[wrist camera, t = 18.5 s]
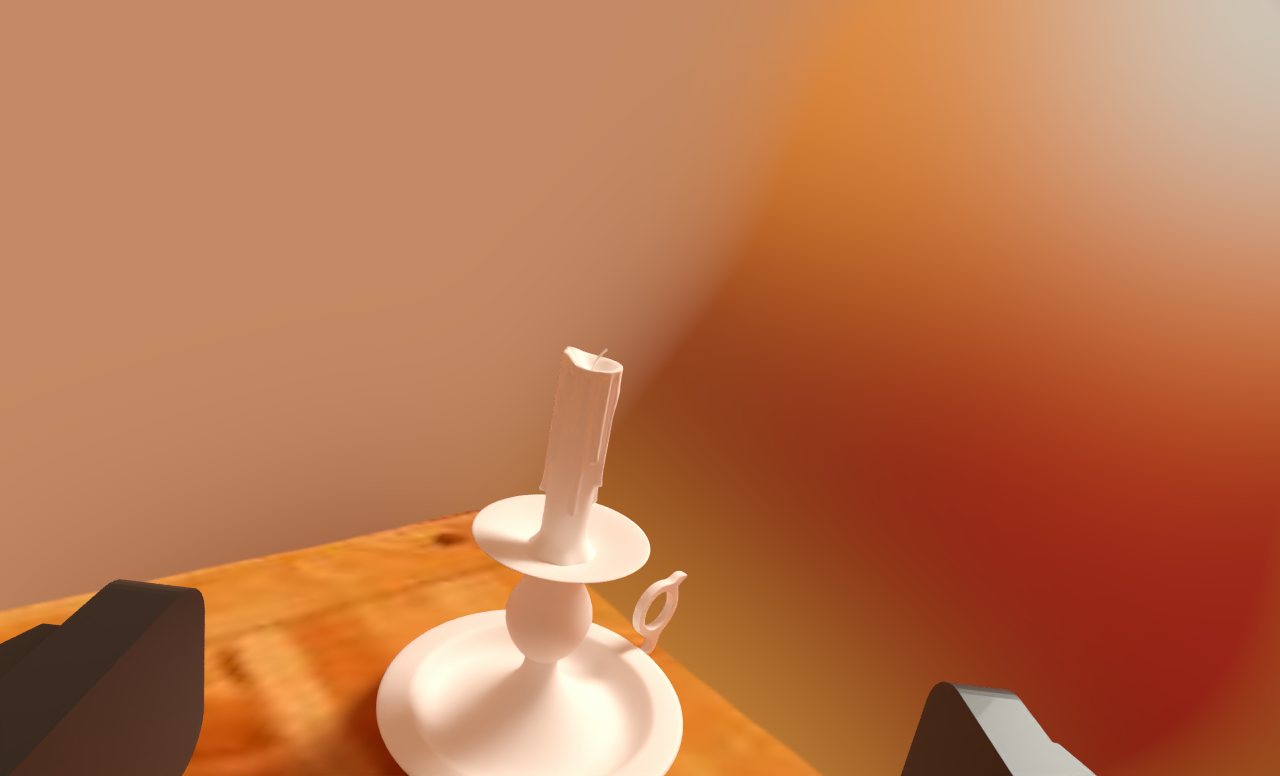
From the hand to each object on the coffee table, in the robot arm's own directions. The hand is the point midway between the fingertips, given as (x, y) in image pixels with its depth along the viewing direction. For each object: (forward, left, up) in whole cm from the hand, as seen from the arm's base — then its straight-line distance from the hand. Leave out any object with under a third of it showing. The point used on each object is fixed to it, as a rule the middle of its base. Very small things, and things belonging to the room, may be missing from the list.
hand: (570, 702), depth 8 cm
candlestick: (-29, -25, -33) cm, 51 cm away
